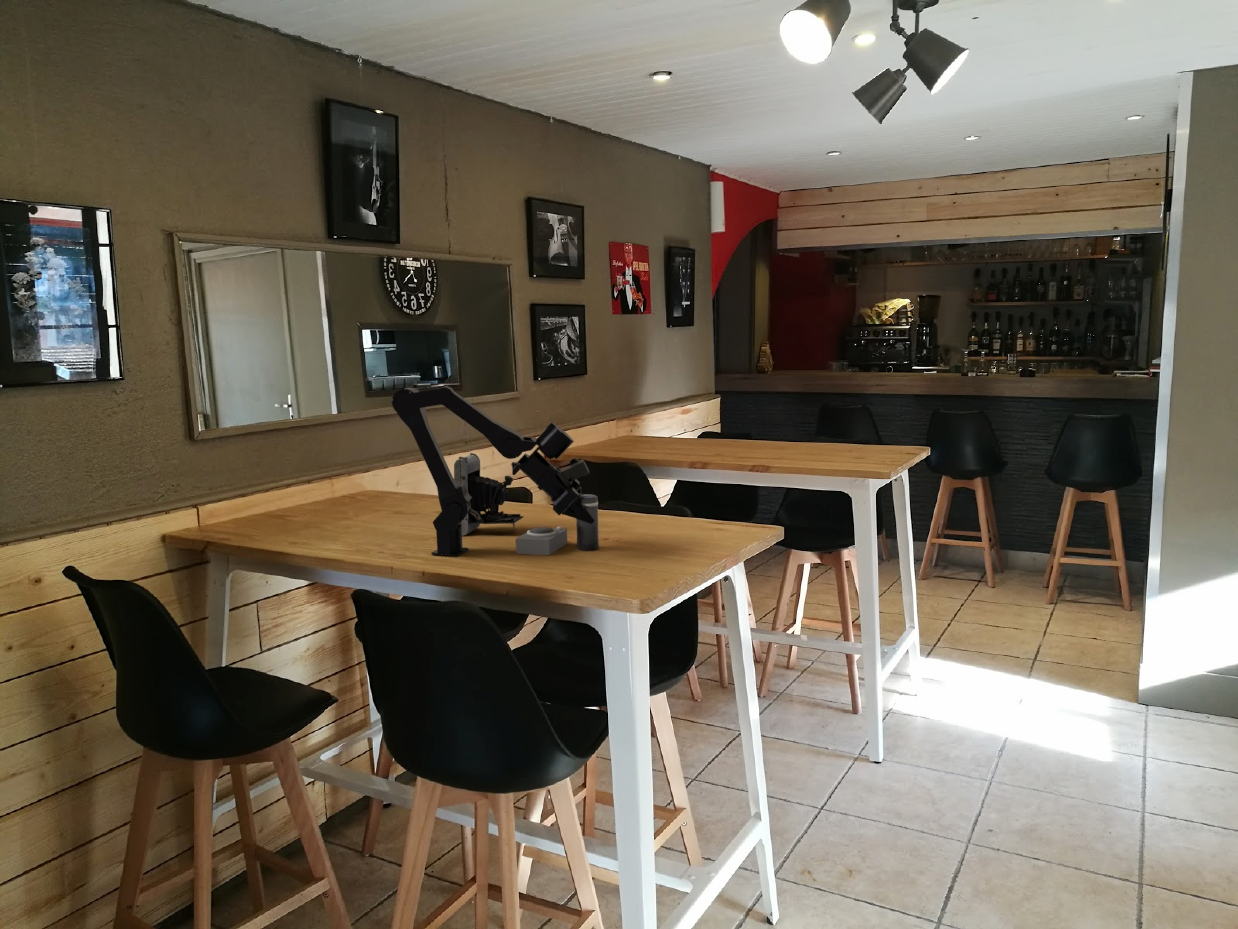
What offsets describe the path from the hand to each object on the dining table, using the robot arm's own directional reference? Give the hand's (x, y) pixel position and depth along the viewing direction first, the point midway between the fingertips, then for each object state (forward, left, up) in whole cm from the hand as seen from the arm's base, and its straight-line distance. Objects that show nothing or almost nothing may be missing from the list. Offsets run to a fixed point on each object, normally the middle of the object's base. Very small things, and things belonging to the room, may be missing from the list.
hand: (593, 520), depth 204 cm
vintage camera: (+12, +31, -7) cm, 34 cm away
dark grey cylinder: (0, +1, -7) cm, 7 cm away
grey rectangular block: (-2, +12, -7) cm, 14 cm away
